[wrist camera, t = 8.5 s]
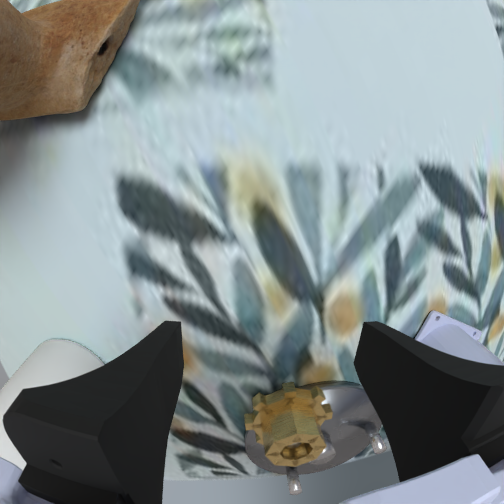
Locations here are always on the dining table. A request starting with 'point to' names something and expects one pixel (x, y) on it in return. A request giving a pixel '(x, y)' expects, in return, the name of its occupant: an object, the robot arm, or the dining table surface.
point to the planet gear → (290, 424)
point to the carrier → (330, 433)
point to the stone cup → (58, 54)
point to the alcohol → (43, 380)
